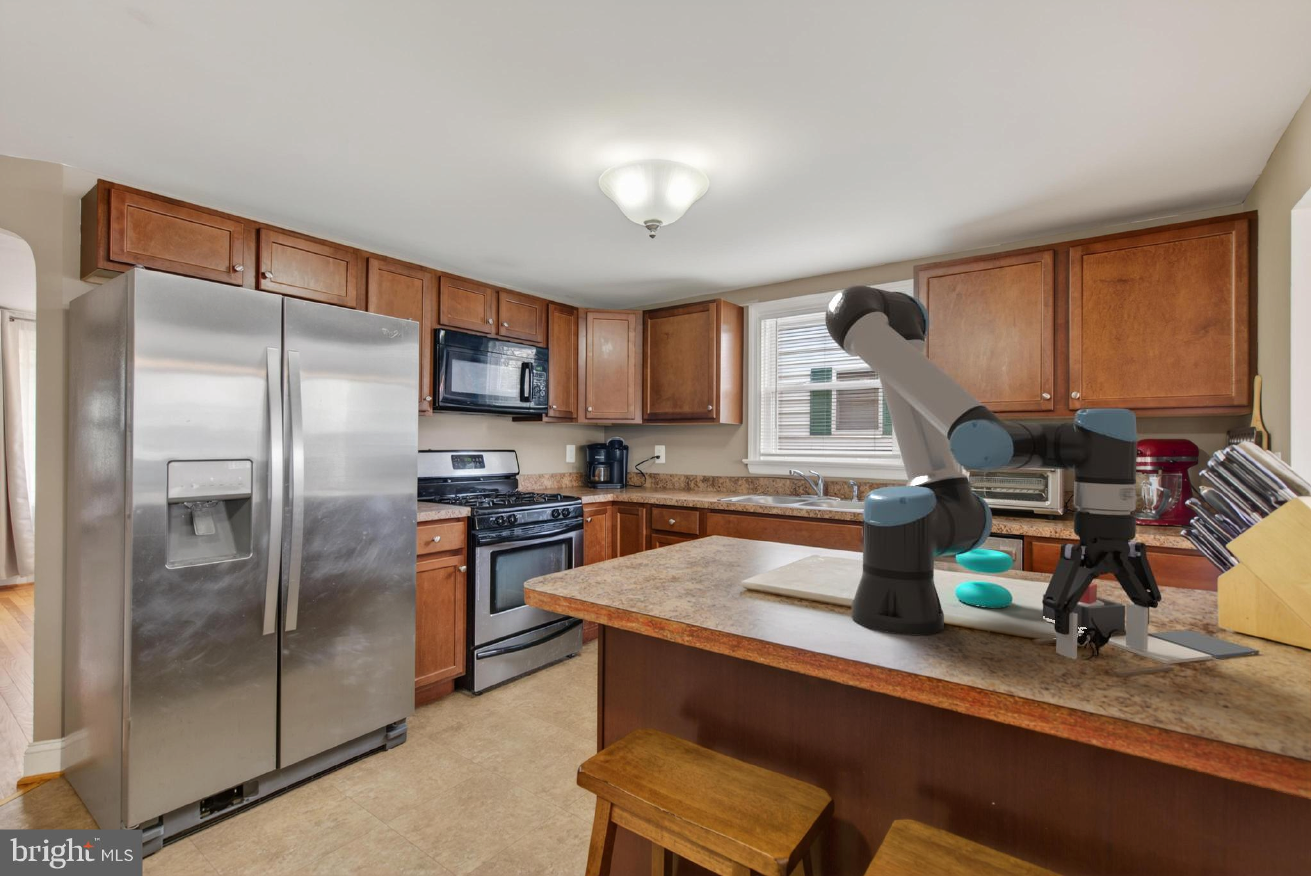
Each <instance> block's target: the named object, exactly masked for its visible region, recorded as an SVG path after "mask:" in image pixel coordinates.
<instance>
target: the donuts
mask: <svg viewBox="0 0 1311 876" xmlns="http://www.w3.org/2000/svg"><path fill="white" fill-rule="evenodd" d="M1013 559H1014V558H1012V556H1011V555H1010V554H1007V553H1006V552H1003V551H998V550H993V549H992V550H991V549H986V548H977V549H975V550H972V551H969V552H967V553H964V554H959V555H955V560H956V562H957V563H958V565H959V566H961V567H963V569H965V570H969V571H971V572H976V573H982V574H1002V573H1005V572H1008V571H1009V570H1011V569H1012V568H1013V566H1014V560H1013ZM954 593H955V597H956V598H957V599H958V600H959V601H960V600H961V602H962V603H964V602H965V604H967V605H970V604H972V605H971V606H973V605H979V606H985V607H1003V608H1006V606H1007V607H1009V606H1011V604H1012V602H1013V595H1012V593H1011V591H1009V590H1008V589H1007V588H1006V587H1004V586H1002V585H1000V584H997V583H996V584H995V583H994V582H988V581H979V580H977V581H976V580H974V581H973V580H971V581H965V582H961V583H960V584H958V585H957V586H956V587H955V590H954ZM985 607H984V608H985Z"/></svg>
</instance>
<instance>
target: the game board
mask: <svg viewBox="0 0 1311 876" xmlns="http://www.w3.org/2000/svg"><path fill="white" fill-rule="evenodd" d="M1044 595H1045V594H1043V595H1042V599H1043V598H1044ZM1053 600H1055V598H1053ZM1097 600H1099V601H1101V602H1103V603H1104V605H1101V606H1088V607H1086V606H1082V605H1079V604H1077V605H1076V607H1075V608H1074V610H1073V611H1072V612H1073V613H1076V614H1077V625H1078V626H1079V627H1086V628H1095V626H1094V625H1093V623H1092V620H1091V617H1093V621H1094V623H1095V624H1096V626H1097V627H1098V628H1099V630H1100V631H1101V633H1102V634H1103V635H1108V633H1109V632H1110V631H1112V630H1115V629H1117V631H1115V632H1113V633H1112V634H1120V633H1126V605H1124V604H1123V603H1120V602H1118V601H1117V602H1116V601H1112V600H1109V599H1105V598H1102V597H1098V596H1097ZM1066 603H1067V602H1065V604H1066ZM1043 616H1045V618H1049V619H1052V620H1055V611H1054V609H1052V608H1049V607H1048V606H1045V605H1043V604H1042V617H1043ZM1118 630H1119V631H1118ZM1090 633H1091V634H1092V636H1094V634H1095V631H1091V632H1090ZM1053 638H1054V637H1047V638H1046V637H1045V638H1038V639H1037V638H1036V639H1032V642H1033V643H1034V644H1036V645H1043V644H1044V645H1045V644H1056V639H1053ZM1087 640H1089V637H1088V636H1087ZM1087 640H1086V641H1087ZM1107 644H1108V645H1112V646H1114V647H1117V648H1120V649H1123V650H1125V651H1129V652H1131V653H1134V654H1137V655H1139V656H1142V657H1146V658H1149V659H1151V660H1153V661H1157V662H1159V663H1162V665H1153V666H1144V667H1142V666H1141V667H1135V668H1125V669H1124V668H1123V669H1117V670H1112V674H1113V675H1114V676H1118V677H1127V676H1134V675H1135V676H1136V675H1144V674H1153V673H1160V672H1169V671H1175V667H1174V666H1172V665H1171V664H1178V663H1187V662H1188V663H1189V662H1196V661H1206V660H1212V658H1214V659H1223V658H1224V659H1225V658H1232V657H1242V656H1241V655H1243V656H1248V654H1252V653H1259V654H1260V650H1259V649H1255V648H1252V647H1248V646H1245V645H1241V644H1238V643H1234V642H1232V641H1228V640H1224V639H1221V638H1217V637H1214V636H1210V635H1208V634H1204V633H1201V632H1197V631H1193V630H1189V629H1184V630H1183V629H1182V630H1174V631H1173V630H1172V631H1163V632H1161V631H1160V632H1152V633H1151V632H1148V651H1142V650H1139V649H1136V648H1133V647H1130V646H1127V645H1126V635H1117V636H1111V638H1110V639H1109V642H1108V643H1107ZM1252 655H1253V654H1252Z"/></svg>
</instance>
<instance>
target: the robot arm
mask: <svg viewBox="0 0 1311 876" xmlns="http://www.w3.org/2000/svg"><path fill="white" fill-rule="evenodd" d="M824 317H825V327H826V329H827V332H828V334H829V336H830V337H831V339H832V340H833V341H834V342H835V343H836V344H837V346H839V347H840V349H842V350H843V351H844V352H845V353H846V354H847V355H849V356H851V357H859V358H860V359H861V360H862V361H863V362H864V363H865V364H866V365H867V366H869V368H870V369H871V370H873V371H874V372H875V373H876V374H877V375H878V379H879V381H880V384H881V388H882V392H883V395H884V399H885V401H886V405H887V408H888V413H889V416H890V417H889V418H890V420H891V424H892V428H893V431H894V434H895V438H896V441H897V444H898V448H899V451H900V455H901V459H902V462H903V466H904V468H905V473H906V476H907V480H908V481H907V483H906V485H898V486H885V487H880V488H877V489H872V490H871V491H870V492H868V493H867V494H866V496H865V497H864V503H863V504H864V505H863V510H862V520H863V525H862V526H863V527H862V531H863V532H862V574H861V578H860V580H859V583H858V585H857V588H856V593H855V594H854V598H853V600H852V602H851V612H850V613H851V614H850V616H851V618H852V620H853V621H854V622H856V623H858V624H860V625H862V626H863V627H867V628H868V629H869V628H870V629H872V630H877V631H880V632H881V631H882V632H886V633H893V634H899V635H909V636H910V635H915V636H919V635H922V636H923V635H930V634H931V635H932V634H936V633H938V632H939V633H940V632H941V631H942V630H944V628H945V614H944V610H943V609H942V605H941V604H942V603H941V601H940V597H939V594H938V590H937V587H936V585H935V580H934V579H935V578H934V574H935V570H934V569H935V558H940V557H946V556H956V555H959V554H964V553H967V552H969V551H972V550H975V549H979V547H981V546H982V545H984V543H986V541H987V539H988V538H989V536H990V534H991V532H992V528H993V514H992V511H991V508H990V506H989V503H987V501H986V500H985V499H984V498H983V497H981V496H980V495H978V493H976V492H974V491H973V490H972V488H971V484H970V481H969V477H968V475H967V474H964V473H962V472H961V471H958V470H957V468H956V465H955V463H954V460H955V462H956V463H958V465H960V466H961V467H963V468H966V469H969V470H977V471H980V472H992V471H993V472H994V471H997V470H998V471H999V470H1000V471H1001V470H1029V469H1030V470H1033V469H1034V470H1035V469H1040V470H1064V471H1073V472H1074V479H1073V480H1074V482H1073V484H1074V485H1073V506H1074V507H1075V508H1077V509H1078V510H1075V512H1073V533H1074V534H1075V535H1076V536H1078V538H1079V542H1078V545H1077V544H1071V543H1066V542H1063V543H1061V545H1060V552H1059V558H1058V562H1057V564H1056V566H1055V568H1054V571H1053V573H1052V575H1051V578H1050V581H1049V583H1048V586H1047V588H1046V590H1045V595H1044V594H1043V595H1044V598H1043V597H1042V602H1041V604H1042V606H1043V605H1045V606H1048V607H1049V608H1052V609H1054V611H1055V625H1054V624H1053V625H1054V626H1053V627H1054V631H1055V634H1056V635H1055V636H1056V637H1055V638H1056V643H1055V644H1056V646H1055V647H1056V649H1055V652H1056V654H1060V655H1062V656H1065V657H1067V658H1070V659H1072V660H1075V659H1076V660H1077V658H1078V647H1077V646H1078V643H1077V636H1078V633H1077V614H1076V613H1073V612H1072V611H1073V610H1074V608H1075V607H1076V605H1077V604H1078V602H1079V601H1080V599H1081V597H1082V596H1083V594H1084V593H1085V591H1086V590H1087V588H1088V587H1089V585H1090V584H1091V583H1092V582H1093V581H1094V580H1095V579H1098V578H1099V577H1100V576H1101V575H1102V576H1103V575H1107V574H1112V575H1113V576H1114V577H1115V579H1116V580H1117V582H1118V583H1119V585H1120V587H1121V588H1122V589H1123V591H1124V592H1125V594H1126V595H1127V597H1128V599H1129V600H1130V601H1131V602H1132V603H1131V602H1129V603H1128V602H1127V603H1126V605H1125V636H1126V645H1127V646H1130V647H1133V648H1136V649H1139V650H1142V651H1148V633H1149V625H1150V608H1153V609H1157V608H1158V606H1159V603H1160V602H1161V601H1162V594H1161V591H1160V589H1159V586H1158V583H1157V581H1156V579H1155V575H1154V573H1153V570H1152V567H1151V565H1150V562H1149V559H1148V556H1147V545H1146V544H1145V543H1144V542H1142V541H1141V542H1140V541H1135V540H1134V539H1135V538H1136V537H1137V536H1136V535H1137V533H1136V529H1137V527H1136V526H1137V521H1136V520H1137V517H1136V516H1135V514H1132V513H1131V512H1133V511H1136V508H1137V507H1136V504H1137V503H1136V499H1137V497H1136V484H1137V457H1138V455H1137V453H1138V452H1137V451H1138V448H1137V447H1138V442H1139V437H1138V435H1137V434H1138V433H1137V417H1136V414H1135V413H1134V412H1133V411H1132V410H1130V409H1127V408H1088V409H1087V408H1085V409H1084V408H1083V409H1079V410H1077V411H1076V412H1075V417H1074V419H1073V421H1069V422H1027V421H1026V422H1025V421H1024V422H1022V421H1020V422H1018V421H1017V422H1015V421H1005V420H1002V418H1000V417H999V416H998V415H996V414H995V413H994V412H993V411H992V410H990V409H989V408H988V407H987V406H986V405H985V404H984V403H982V402H981V401H980V400H979V399H978V398H976V397H975V396H974V395H973V394H971V392H969V391H968V390H967V389H966V388H964V387H963V386H962V384H961V385H960V383H959V382H957V381H956V380H955V379H953V378H952V377H951V376H950V375H949V374H948V373H946V372H945V371H944V370H943V369H942V368H940V367H939V366H938V365H937V364H935V363H934V362H933V361H932V360H931V359H930V358H929V357H927V356H926V355H925V354H924V353H923V352H924V351H925V349H926V347H927V343H926V341H925V340H926V337H927V335H928V333H927V332H928V330H930V316H929V313H928V310H927V308H926V307H925V305H924V303H922V302H921V301H920V300H919V299H917V298H916V297H914V296H912V295H909V294H907V293H905V292H902V291H889V290H885V289H880V288H876V287H871V286H866V285H853V286H852V285H851V286H850V287H846V288H844V289H843V290H840V291H839V292H838V293H837V294H835V296H833V298H832V299H831V300H830V302H829V303H828V306H827V308H826V311H825V316H824ZM948 441H949V443H948ZM953 459H954V460H953ZM1133 540H1134V541H1133ZM1053 598H1055V600H1053ZM1065 602H1067V603H1066V604H1065Z"/></svg>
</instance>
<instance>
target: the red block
mask: <svg viewBox="0 0 1311 876" xmlns="http://www.w3.org/2000/svg"><path fill="white" fill-rule="evenodd" d="M1097 587H1098V584H1097V583H1092V582H1091V584H1090V585H1089V587H1088V588H1087V590H1086V591H1085V593H1084V594H1083V596H1082V597H1081V599H1080V601H1079V602H1078V604H1079V605H1082V606H1086V607H1088V606H1101V605H1104V603H1103V602H1101V601H1099V600H1097V597H1098V596H1097V595H1098V588H1097Z"/></svg>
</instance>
